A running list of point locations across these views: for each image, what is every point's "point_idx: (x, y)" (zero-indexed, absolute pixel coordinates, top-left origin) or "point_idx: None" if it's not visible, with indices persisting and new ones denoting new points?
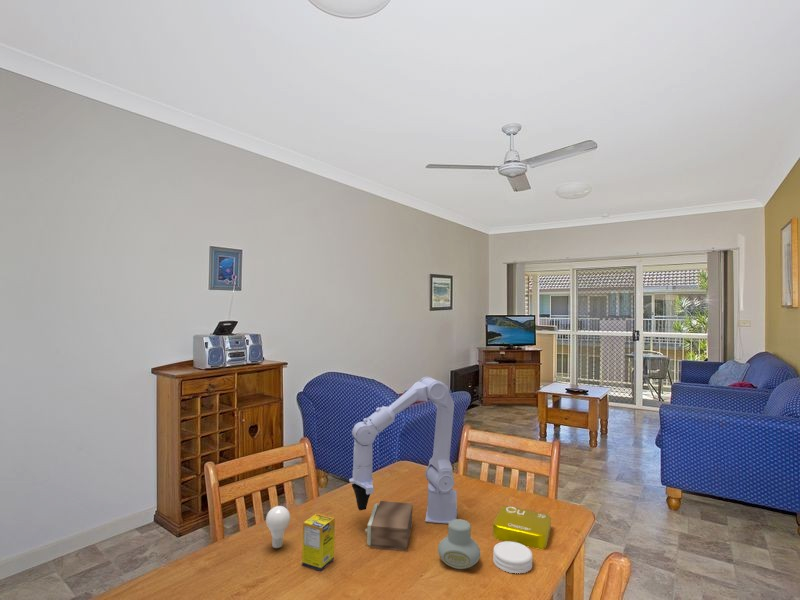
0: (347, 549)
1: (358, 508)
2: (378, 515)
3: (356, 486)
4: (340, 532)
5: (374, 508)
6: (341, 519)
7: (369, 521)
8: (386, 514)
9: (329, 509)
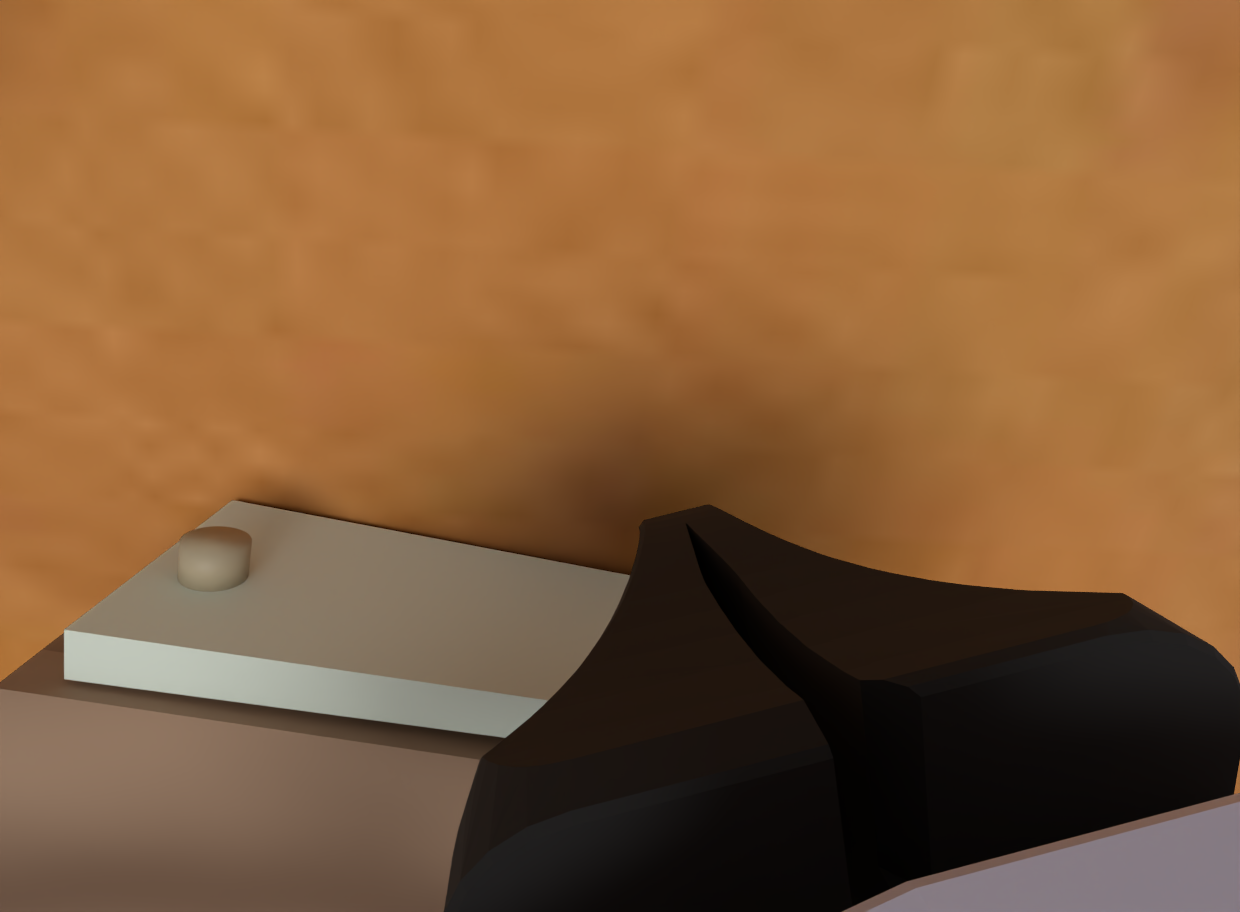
0: (142, 273)
1: (683, 513)
2: (386, 787)
3: (827, 861)
4: (561, 205)
5: None
6: (882, 237)
7: (213, 658)
8: (415, 878)
9: (1189, 82)
